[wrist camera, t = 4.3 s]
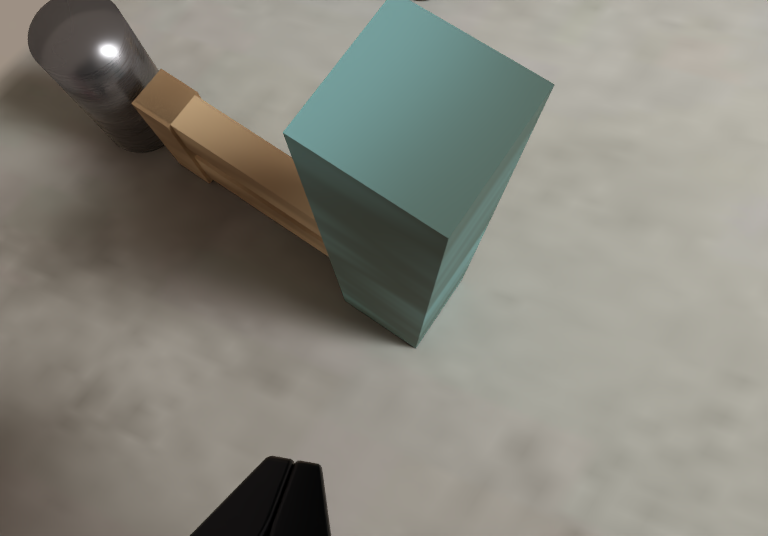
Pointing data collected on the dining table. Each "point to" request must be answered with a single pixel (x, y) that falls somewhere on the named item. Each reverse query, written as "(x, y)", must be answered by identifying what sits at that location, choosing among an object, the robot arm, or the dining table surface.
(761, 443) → the dining table surface
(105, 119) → the hinge post
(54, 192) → the dining table surface
